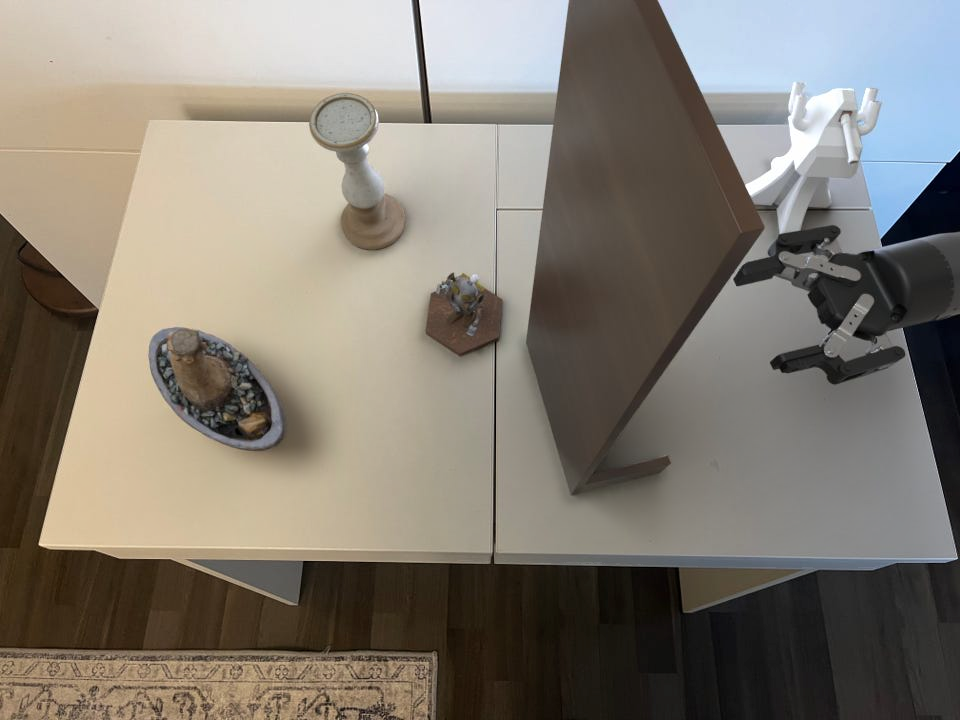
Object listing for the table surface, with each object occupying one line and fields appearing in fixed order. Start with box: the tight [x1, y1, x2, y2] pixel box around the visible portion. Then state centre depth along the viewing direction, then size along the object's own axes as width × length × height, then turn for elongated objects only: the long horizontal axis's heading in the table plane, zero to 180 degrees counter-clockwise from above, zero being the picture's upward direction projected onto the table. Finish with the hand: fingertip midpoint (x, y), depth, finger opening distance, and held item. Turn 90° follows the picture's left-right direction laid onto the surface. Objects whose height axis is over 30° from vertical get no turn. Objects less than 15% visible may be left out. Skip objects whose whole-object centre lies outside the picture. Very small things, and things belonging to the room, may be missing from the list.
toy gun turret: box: [745, 82, 883, 235], centre depth 82 cm, size 12×13×18 cm
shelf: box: [525, 0, 766, 496], centre depth 54 cm, size 11×20×56 cm, turn 14°
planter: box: [147, 326, 287, 452], centre depth 72 cm, size 15×17×20 cm
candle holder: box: [308, 92, 406, 251], centre depth 81 cm, size 9×9×20 cm
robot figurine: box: [425, 272, 503, 357], centre depth 79 cm, size 11×9×12 cm
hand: (755, 319), depth 58 cm, fingers open, 8 cm apart
